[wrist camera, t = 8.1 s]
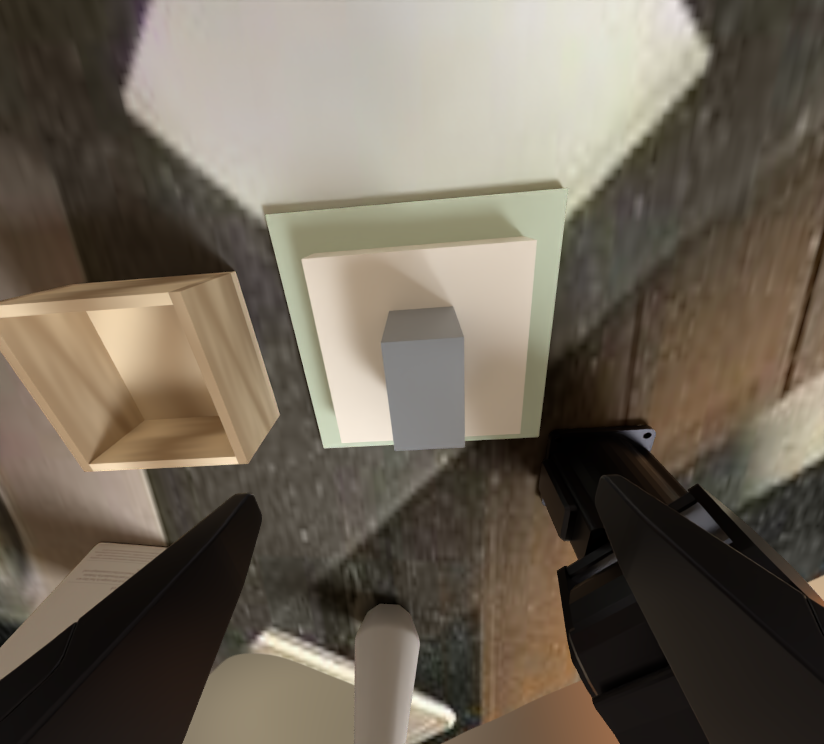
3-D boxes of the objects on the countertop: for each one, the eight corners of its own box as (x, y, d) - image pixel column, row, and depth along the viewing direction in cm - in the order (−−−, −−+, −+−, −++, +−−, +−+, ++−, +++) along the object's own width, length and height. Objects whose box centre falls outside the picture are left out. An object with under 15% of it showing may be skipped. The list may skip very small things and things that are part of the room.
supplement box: (96, 539, 27) (-130, 776, 16) (188, 547, 27) (29, 785, 16) (122, 591, 31) (-51, 817, 19) (203, 598, 31) (80, 824, 20)
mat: (564, 188, 15) (568, 187, 15) (536, 432, 22) (538, 437, 21) (269, 214, 16) (264, 214, 16) (325, 443, 22) (323, 448, 22)
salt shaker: (427, 604, 31) (433, 847, 19) (409, 635, 33) (405, 866, 22) (366, 593, 30) (334, 837, 18) (352, 625, 33) (317, 858, 21)
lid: (523, 236, 16) (578, 252, 10) (511, 413, 20) (544, 487, 15) (313, 253, 16) (263, 277, 11) (348, 422, 21) (324, 498, 16)
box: (235, 271, 17) (180, 291, 13) (279, 414, 21) (248, 463, 17) (72, 284, 18) (-30, 307, 14) (146, 422, 22) (84, 471, 18)
